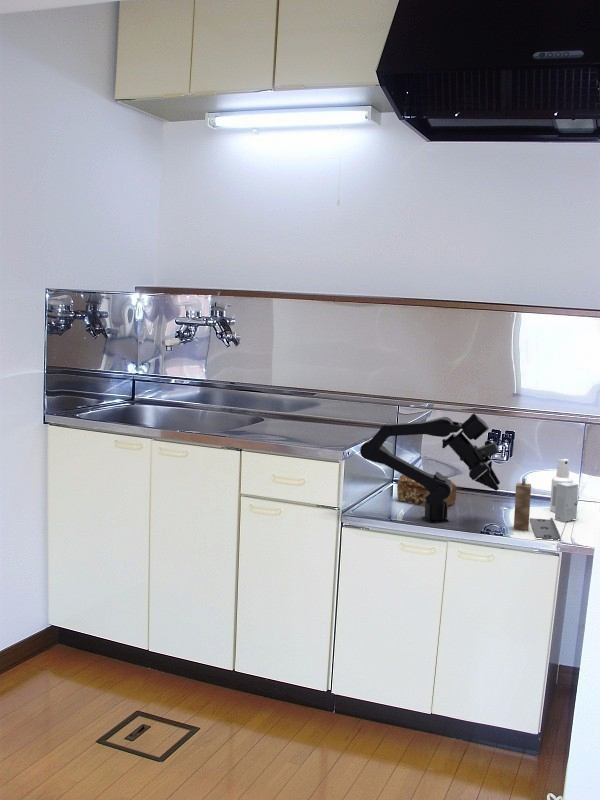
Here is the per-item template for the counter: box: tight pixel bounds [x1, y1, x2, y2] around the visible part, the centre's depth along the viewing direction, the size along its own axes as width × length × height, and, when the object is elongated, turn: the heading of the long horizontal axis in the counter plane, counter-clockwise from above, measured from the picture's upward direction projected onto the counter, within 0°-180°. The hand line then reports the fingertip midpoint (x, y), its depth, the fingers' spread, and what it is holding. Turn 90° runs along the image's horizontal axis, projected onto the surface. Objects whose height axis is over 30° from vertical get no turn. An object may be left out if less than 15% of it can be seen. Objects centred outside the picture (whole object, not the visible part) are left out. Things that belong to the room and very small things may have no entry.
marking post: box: [513, 478, 532, 532], centre depth 259 cm, size 4×4×16 cm
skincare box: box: [554, 482, 579, 523], centre depth 272 cm, size 6×4×12 cm
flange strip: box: [529, 517, 561, 541], centre depth 259 cm, size 22×7×1 cm, turn 169°
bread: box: [396, 474, 458, 507], centre depth 292 cm, size 19×11×10 cm, turn 56°
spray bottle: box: [549, 458, 574, 513], centre depth 283 cm, size 7×7×18 cm
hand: (498, 486), depth 261 cm, fingers open, 9 cm apart
